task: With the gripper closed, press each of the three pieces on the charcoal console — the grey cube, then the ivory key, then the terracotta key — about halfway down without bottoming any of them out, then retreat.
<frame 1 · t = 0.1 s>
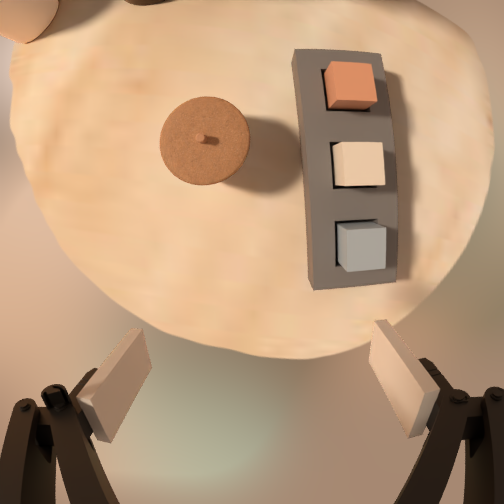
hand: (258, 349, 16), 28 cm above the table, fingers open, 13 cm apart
can: (37, 19, 33), on the table
grey cube: (360, 245, 36), point 7 cm above the table, slide at 0.0 cm
console: (343, 166, 40), on the table
lidded jar: (214, 146, 40), on the table
key ivory: (357, 164, 34), point 6 cm above the table, slide at 0.0 cm
key terracotta: (349, 86, 31), point 6 cm above the table, slide at 0.0 cm
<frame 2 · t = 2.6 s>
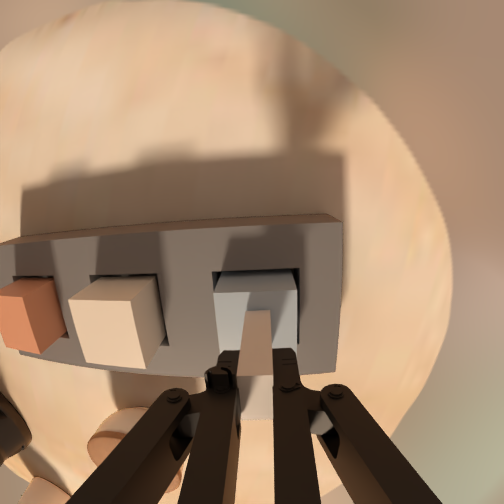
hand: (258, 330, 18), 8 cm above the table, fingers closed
can: (55, 490, 41), on the table
grey cube: (257, 312, 21), point 5 cm above the table, slide at 1.2 cm, touching gripper
console: (149, 289, 26), on the table
lidded jar: (150, 423, 31), on the table
key ivory: (120, 319, 20), point 7 cm above the table, slide at 0.0 cm
key terracotta: (29, 313, 21), point 7 cm above the table, slide at 0.0 cm
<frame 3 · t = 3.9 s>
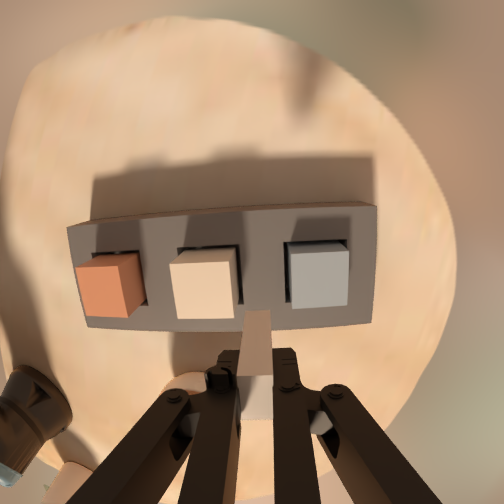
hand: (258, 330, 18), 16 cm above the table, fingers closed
can: (86, 475, 49), on the table
grey cube: (316, 272, 28), point 5 cm above the table, slide at 1.4 cm
console: (218, 262, 33), on the table
lidded jar: (204, 387, 38), on the table
key ivory: (207, 281, 27), point 7 cm above the table, slide at 0.0 cm
key terracotta: (112, 283, 28), point 7 cm above the table, slide at 0.0 cm
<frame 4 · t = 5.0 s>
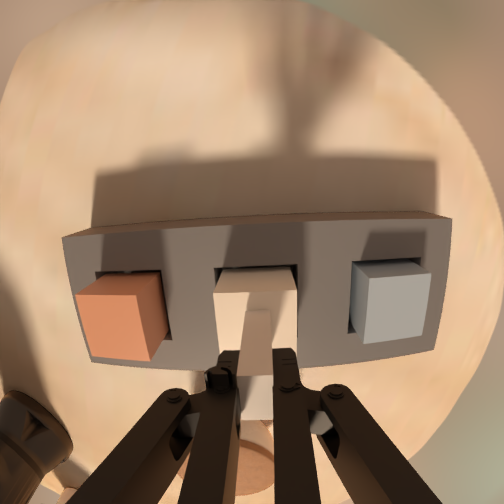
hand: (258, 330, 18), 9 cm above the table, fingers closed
can: (88, 500, 41), on the table
grey cube: (385, 296, 22), point 5 cm above the table, slide at 1.4 cm
console: (258, 282, 27), on the table
lidded jar: (231, 423, 31), on the table
key ivory: (257, 312, 21), point 6 cm above the table, slide at 0.2 cm, touching gripper
key terracotta: (125, 314, 21), point 6 cm above the table, slide at 0.0 cm
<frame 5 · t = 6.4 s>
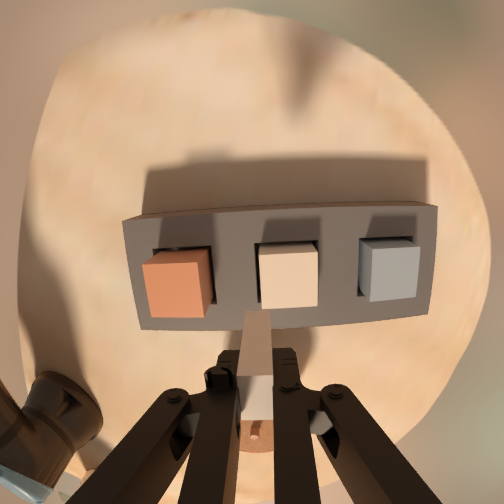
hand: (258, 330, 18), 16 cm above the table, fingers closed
grey cube: (386, 266, 28), point 5 cm above the table, slide at 1.4 cm
console: (284, 258, 33), on the table
lidded jar: (257, 387, 38), on the table
key ivory: (287, 272, 28), point 5 cm above the table, slide at 1.4 cm
key terracotta: (180, 281, 28), point 6 cm above the table, slide at 0.0 cm
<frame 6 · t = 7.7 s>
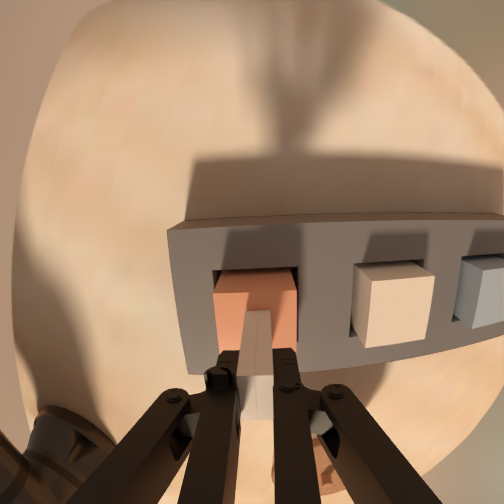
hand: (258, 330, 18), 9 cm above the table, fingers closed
grey cube: (481, 287, 21), point 5 cm above the table, slide at 1.4 cm
console: (367, 278, 26), on the table
lidded jar: (315, 422, 31), on the table
key ivory: (388, 299, 21), point 5 cm above the table, slide at 1.4 cm
key terracotta: (257, 312, 21), point 6 cm above the table, slide at 0.8 cm, touching gripper
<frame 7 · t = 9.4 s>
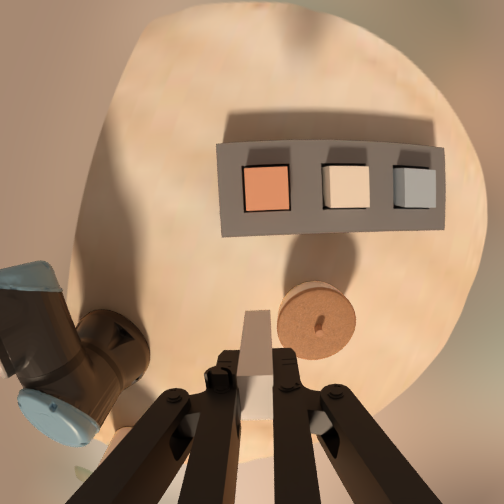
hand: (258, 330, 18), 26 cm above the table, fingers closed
grey cube: (412, 187, 36), point 5 cm above the table, slide at 1.4 cm
console: (335, 185, 41), on the table
lidded jar: (309, 303, 46), on the table
key ivory: (344, 186, 36), point 5 cm above the table, slide at 1.4 cm
key terracotta: (266, 188, 37), point 5 cm above the table, slide at 1.4 cm
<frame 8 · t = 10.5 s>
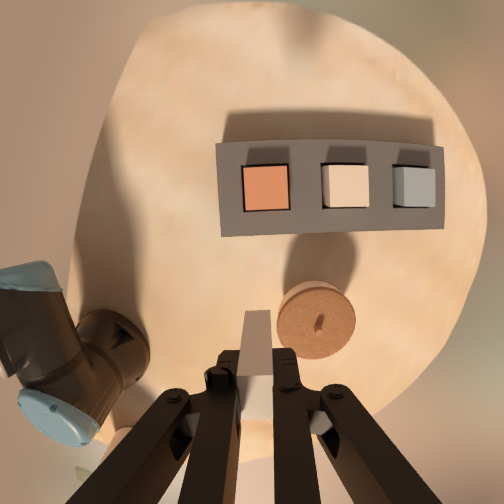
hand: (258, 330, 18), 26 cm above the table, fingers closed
grey cube: (411, 186, 36), point 5 cm above the table, slide at 1.4 cm
console: (334, 184, 41), on the table
lidded jar: (309, 303, 46), on the table
key ivory: (344, 185, 36), point 5 cm above the table, slide at 1.4 cm
key terracotta: (265, 187, 37), point 5 cm above the table, slide at 1.4 cm
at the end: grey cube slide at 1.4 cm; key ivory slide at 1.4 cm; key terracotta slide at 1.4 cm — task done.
